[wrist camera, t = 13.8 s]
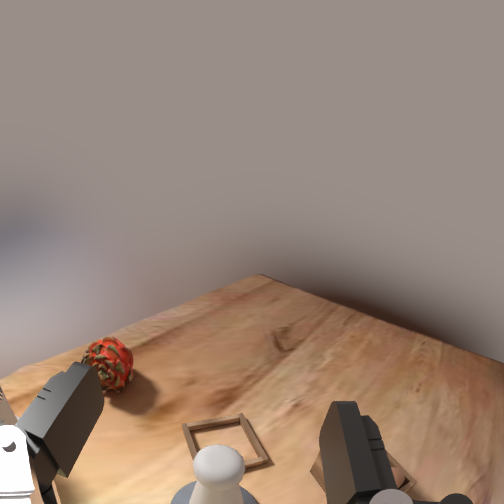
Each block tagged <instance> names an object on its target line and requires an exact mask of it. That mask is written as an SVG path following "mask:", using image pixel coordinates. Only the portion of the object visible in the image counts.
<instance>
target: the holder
mask: <svg viewBox="0 0 504 504" xmlns="http://www.w3.org/2000/svg"><path fill="white" fill-rule="evenodd" d="M234 422H240V424H241V426H242V428H243V430H244V432H245V433H246V435H247V437H248V439H249V441H250V443H251V445H252V446H253V448H254V450H255V452H256V454H257V455H258V458H254V459H250V460H246V461H244V465H245V469H246V468H250V467H254V466H258V465H261V464H265V463H267V462H268V457H267V456H266V454H265V452H264V451H263V449H262V447H261V445H260V444H259V442H258V440H257V438H256V437H255V435H254V433H253V431H252V429H251V428H250V426H249V424H248V422H247V420H246V419H245V417H244V415H243V413H240V414H236V415H231V416H225V417H220V418H215V419H209V420H203V421H197V422H191V423H184V424H182V430H183V433H184V436H185V439H186V441H187V444H188V447H189V450H190V453H191V456H192V458H193V461H194V458H195V457H196V455H197V451H196V448H195V445H194V443H193V440H192V437H191V434H190V432H189V431H190V430H197V429H203V428H209V427H214V426H219V425H225V424H230V423H234Z"/></svg>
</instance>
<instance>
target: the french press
mask: <svg viewBox="0 0 504 504" xmlns="http://www.w3.org/2000/svg"><path fill="white" fill-rule="evenodd" d="M0 392H1V393H2V395H1V394H0V396H1V397H2V399H1V398H0V400H1V402H0V427H3V426H12V427H13V426H14V425H15V424H16V423H17V421H18V420H19V419H20V417H18V416H17V415H15V414H14V412H13V411H12V409H11V407H10V405H9V403H8V401H7V399H6V397H5V395H4V393H3V391H2V389H1V387H0Z"/></svg>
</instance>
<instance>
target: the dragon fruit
mask: <svg viewBox="0 0 504 504" xmlns="http://www.w3.org/2000/svg"><path fill="white" fill-rule="evenodd" d="M88 352H89V354H88V355H86V356H85V358H84V356H83V357H82V359H81V363H83V364H87V365H90V366H94V367H96V369H97V372H98V376H99V380H100V384H101V388H102V391H104V390H109V389H113V390H114V391H115V392H116V393H119V392H122V391H123V389H124V387H125V382H128V383H129V382H132V381H133V380H134V378H133V370H132V366H133V355H132V353H131V351H130V350H129V349H128V348H126V347H125V345H124V344H122V343H121V342H120V341H119V340H118V339H116V338H114V337H112V338H110V337H105V338H104V339H103V340H97V342H93V343H92V344H91V345H89V347H88V350H87V351H86V353H88Z"/></svg>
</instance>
